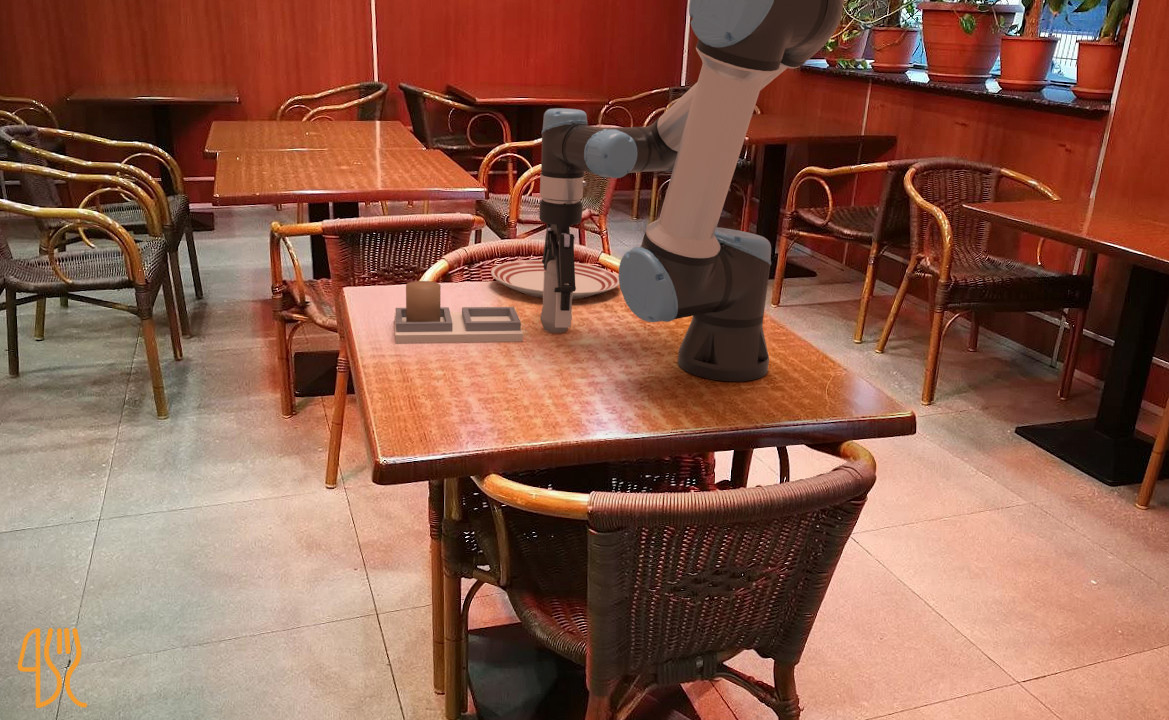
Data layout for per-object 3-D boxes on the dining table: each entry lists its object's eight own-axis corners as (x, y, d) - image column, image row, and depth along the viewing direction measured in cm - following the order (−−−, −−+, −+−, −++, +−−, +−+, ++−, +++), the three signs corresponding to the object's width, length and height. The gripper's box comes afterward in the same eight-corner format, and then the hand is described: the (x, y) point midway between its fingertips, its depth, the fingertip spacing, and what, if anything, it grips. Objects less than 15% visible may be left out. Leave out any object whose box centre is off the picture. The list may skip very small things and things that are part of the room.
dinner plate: (595, 270, 218) (596, 256, 217) (638, 303, 194) (639, 288, 193) (478, 274, 210) (478, 259, 209) (508, 309, 185) (508, 293, 184)
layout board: (522, 341, 167) (524, 295, 164) (395, 343, 162) (394, 295, 159) (513, 319, 179) (514, 275, 176) (394, 320, 174) (393, 275, 171)
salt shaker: (535, 326, 175) (537, 257, 171) (563, 323, 178) (566, 256, 173) (547, 336, 171) (550, 265, 166) (576, 333, 173) (579, 263, 169)
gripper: (597, 214, 155) (590, 336, 163) (569, 187, 178) (564, 296, 185) (552, 213, 154) (547, 337, 161) (529, 187, 177) (526, 296, 184)
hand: (556, 315), depth 173 cm, fingers open, 13 cm apart
